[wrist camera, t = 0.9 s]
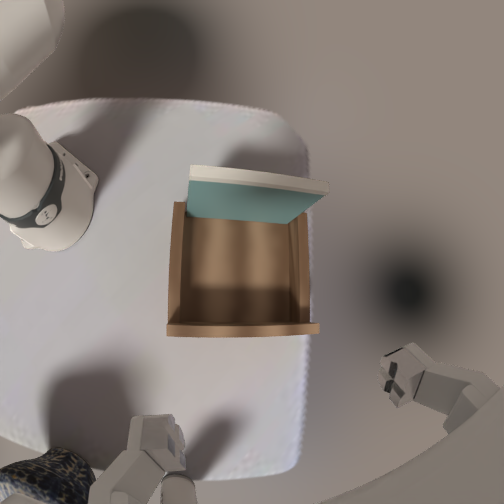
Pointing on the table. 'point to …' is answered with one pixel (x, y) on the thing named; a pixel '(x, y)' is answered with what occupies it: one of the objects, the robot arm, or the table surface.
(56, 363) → the table surface
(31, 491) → the blue patterned vase
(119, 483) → the robot arm
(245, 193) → the teal flat panel
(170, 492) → the travel mug
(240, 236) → the wooden drawer
